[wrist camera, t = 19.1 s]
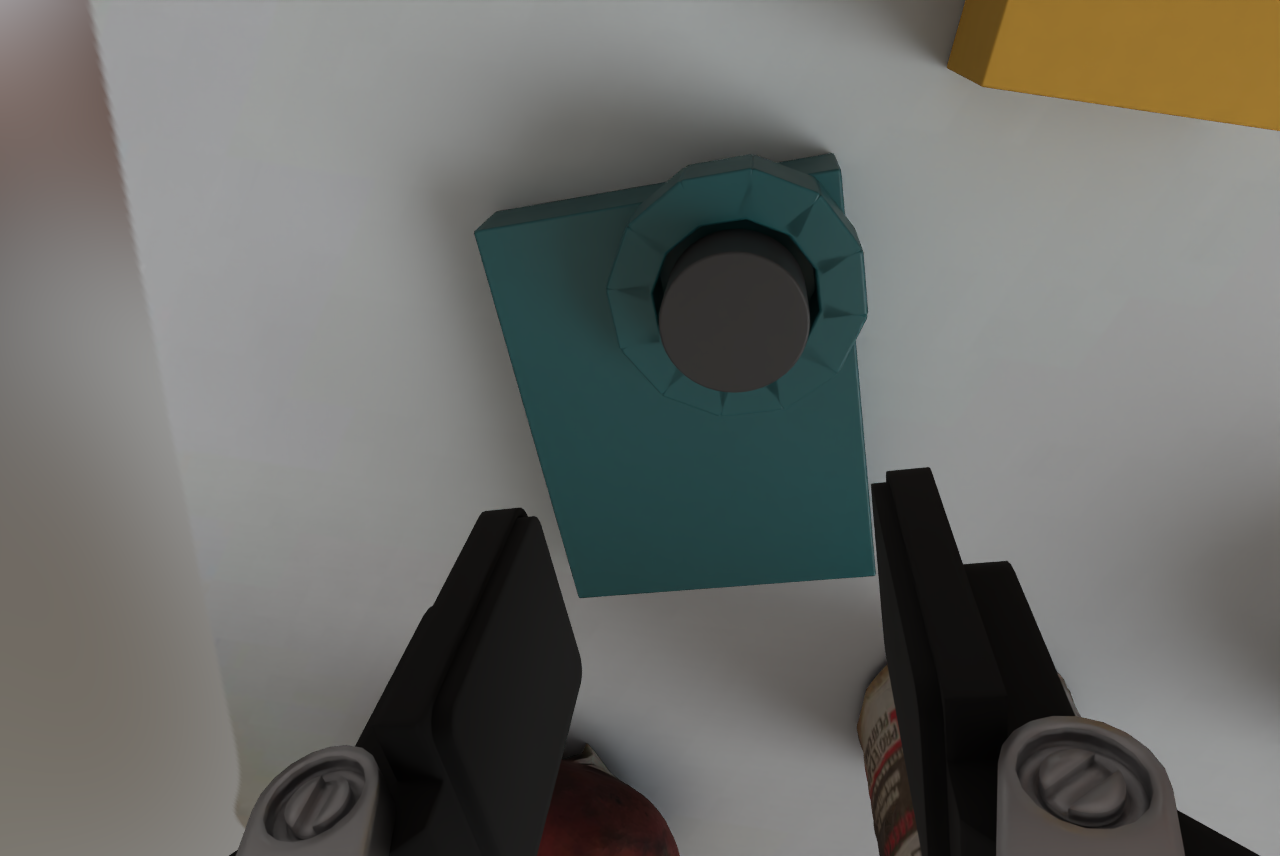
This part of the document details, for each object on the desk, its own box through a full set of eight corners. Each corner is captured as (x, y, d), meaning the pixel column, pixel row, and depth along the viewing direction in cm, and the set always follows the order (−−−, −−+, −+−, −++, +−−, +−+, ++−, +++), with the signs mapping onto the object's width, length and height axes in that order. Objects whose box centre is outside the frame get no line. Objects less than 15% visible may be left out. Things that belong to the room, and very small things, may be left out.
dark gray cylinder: (654, 240, 21) (645, 264, 20) (798, 217, 21) (801, 240, 19) (679, 368, 23) (672, 401, 21) (813, 351, 22) (817, 384, 21)
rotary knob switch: (487, 186, 25) (443, 221, 22) (841, 122, 23) (855, 149, 19) (589, 560, 31) (568, 634, 28) (876, 536, 29) (891, 613, 26)
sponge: (945, 68, 22) (980, 86, 19) (996, -113, 20) (1046, -130, 17) (1219, 108, 22) (1307, 135, 18) (1298, -72, 20) (1413, -81, 16)
